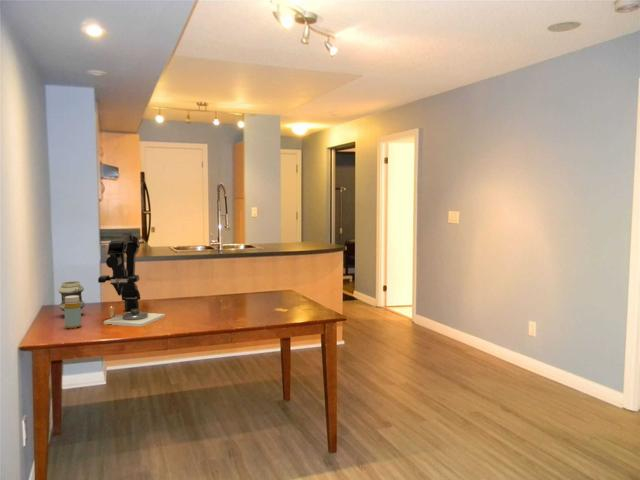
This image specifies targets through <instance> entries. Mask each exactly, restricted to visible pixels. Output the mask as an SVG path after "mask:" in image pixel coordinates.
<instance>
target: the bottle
mask: <svg viewBox="0 0 640 480" xmlns="http://www.w3.org/2000/svg"><path fill="white" fill-rule="evenodd" d="M63 313H64V314H65V318H64V327H65V328H66V329H67V328H75V329H78V328H77V327H79V328H81V326H82V316H81V313H82V309H81V305H80V303H79V296H78V295H72V296H66V297H65V306H64V311H63Z"/></svg>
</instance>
